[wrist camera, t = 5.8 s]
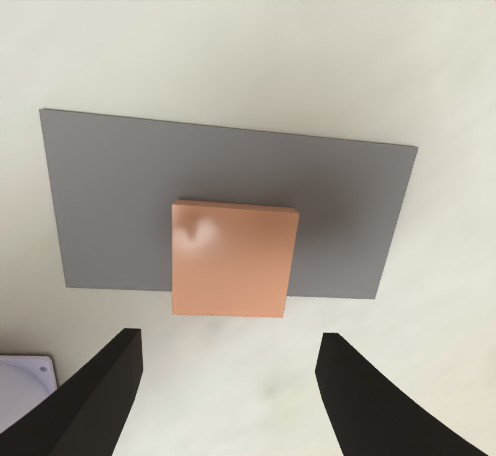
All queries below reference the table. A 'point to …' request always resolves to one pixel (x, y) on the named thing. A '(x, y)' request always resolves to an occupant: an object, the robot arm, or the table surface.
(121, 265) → the rubber mat
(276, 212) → the peach square slab
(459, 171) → the table surface
